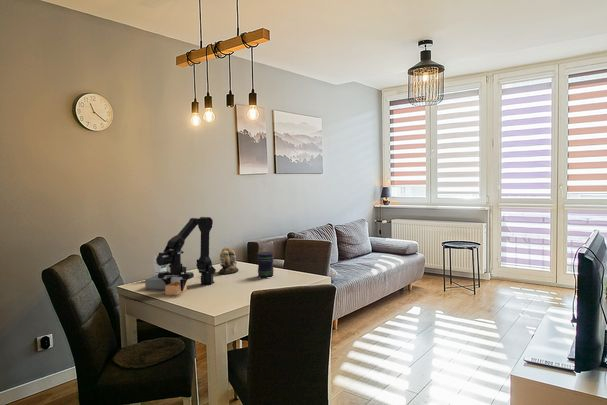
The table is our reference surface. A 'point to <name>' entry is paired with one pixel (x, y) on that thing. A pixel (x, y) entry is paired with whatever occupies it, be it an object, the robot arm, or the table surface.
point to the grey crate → (158, 282)
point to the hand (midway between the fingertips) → (176, 290)
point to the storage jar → (265, 264)
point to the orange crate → (174, 288)
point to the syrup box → (159, 267)
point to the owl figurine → (228, 261)
